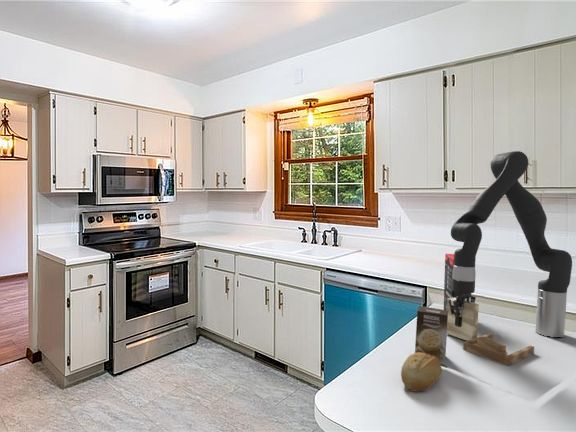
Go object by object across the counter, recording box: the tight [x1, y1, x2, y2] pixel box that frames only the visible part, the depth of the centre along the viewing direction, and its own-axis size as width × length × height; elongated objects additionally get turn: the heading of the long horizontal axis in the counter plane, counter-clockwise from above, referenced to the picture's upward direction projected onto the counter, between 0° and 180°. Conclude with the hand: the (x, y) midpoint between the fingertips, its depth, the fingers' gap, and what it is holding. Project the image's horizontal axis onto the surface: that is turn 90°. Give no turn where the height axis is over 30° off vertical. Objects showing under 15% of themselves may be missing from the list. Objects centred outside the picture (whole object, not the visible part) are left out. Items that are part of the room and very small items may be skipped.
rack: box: [462, 332, 535, 367], centre depth 124 cm, size 17×14×4 cm
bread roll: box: [400, 352, 442, 392], centre depth 103 cm, size 10×15×8 cm, turn 143°
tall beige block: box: [447, 297, 480, 341], centre depth 135 cm, size 4×10×13 cm, turn 34°
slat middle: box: [474, 343, 508, 356], centre depth 121 cm, size 4×9×2 cm, turn 33°
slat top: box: [477, 336, 507, 353], centre depth 121 cm, size 4×8×2 cm, turn 18°
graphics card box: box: [443, 253, 455, 310], centre depth 160 cm, size 17×7×27 cm, turn 168°
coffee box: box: [414, 305, 448, 367], centre depth 118 cm, size 9×6×16 cm
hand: (461, 325), depth 135 cm, fingers closed on tall beige block, 3 cm apart
